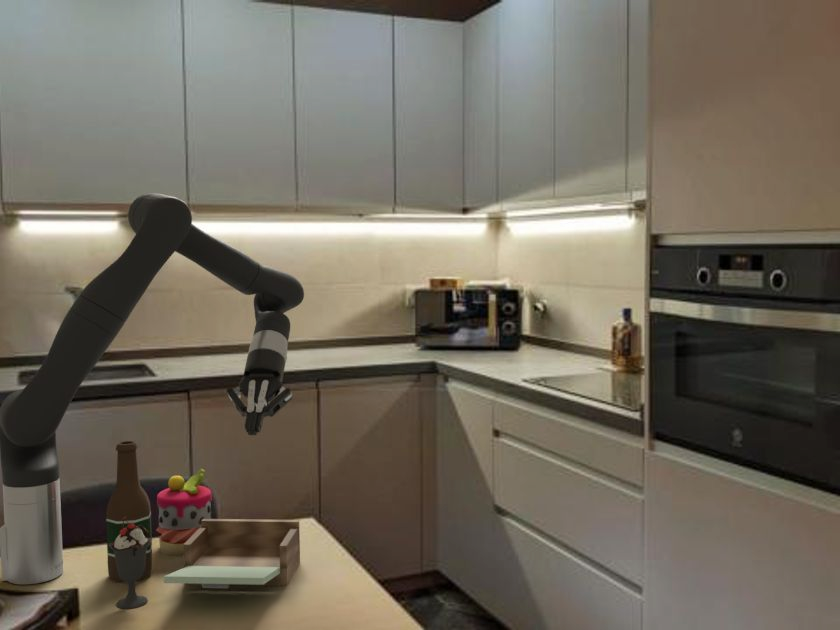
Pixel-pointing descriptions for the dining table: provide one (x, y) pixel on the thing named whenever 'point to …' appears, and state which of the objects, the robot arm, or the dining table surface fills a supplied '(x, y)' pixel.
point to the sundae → (131, 561)
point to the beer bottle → (127, 506)
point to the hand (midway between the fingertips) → (252, 432)
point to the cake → (182, 512)
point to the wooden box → (246, 546)
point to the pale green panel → (222, 575)
